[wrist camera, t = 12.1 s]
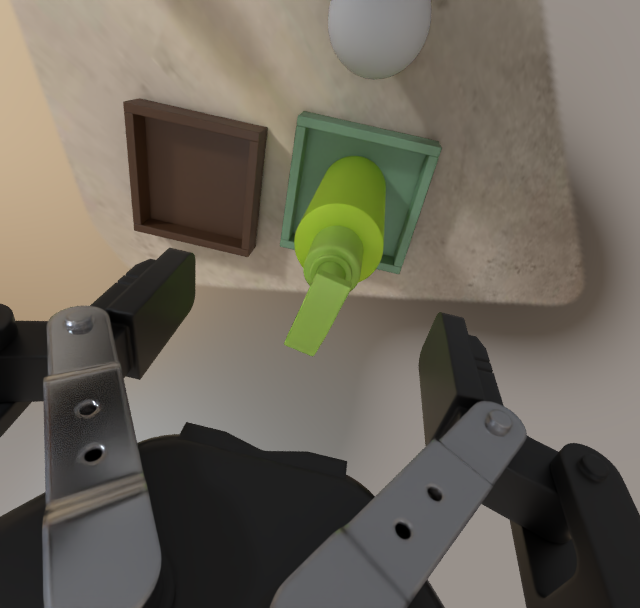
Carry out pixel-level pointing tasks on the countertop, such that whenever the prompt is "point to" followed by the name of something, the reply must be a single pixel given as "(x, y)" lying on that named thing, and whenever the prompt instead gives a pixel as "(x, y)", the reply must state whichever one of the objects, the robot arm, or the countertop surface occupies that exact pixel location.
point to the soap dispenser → (337, 245)
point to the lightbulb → (378, 34)
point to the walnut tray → (194, 175)
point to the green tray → (381, 148)
